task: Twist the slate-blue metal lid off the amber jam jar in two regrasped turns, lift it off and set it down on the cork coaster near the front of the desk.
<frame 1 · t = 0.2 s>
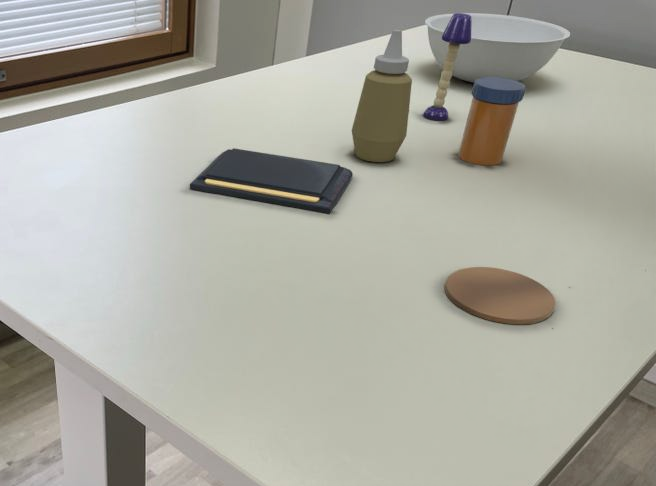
squeeze bottle: (374, 157, 111), on the table
toy lamp: (437, 118, 127), on the table
bowl: (482, 79, 149), on the table
jar: (479, 157, 111), on the table
lid: (499, 86, 105), point 11 cm above the table, screwed on, not yet turned
wallet: (272, 183, 102), on the table
coaster: (498, 296, 77), on the table
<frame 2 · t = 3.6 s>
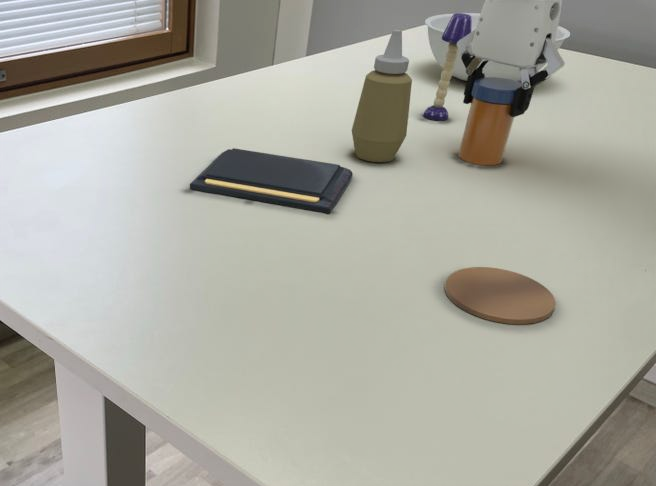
hand: (493, 107, 107), 8 cm above the table, tool pointing down, fingers closed on lid, 6 cm apart
lid: (499, 86, 105), point 11 cm above the table, screwed on, not yet turned, touching gripper
everything else where it was.
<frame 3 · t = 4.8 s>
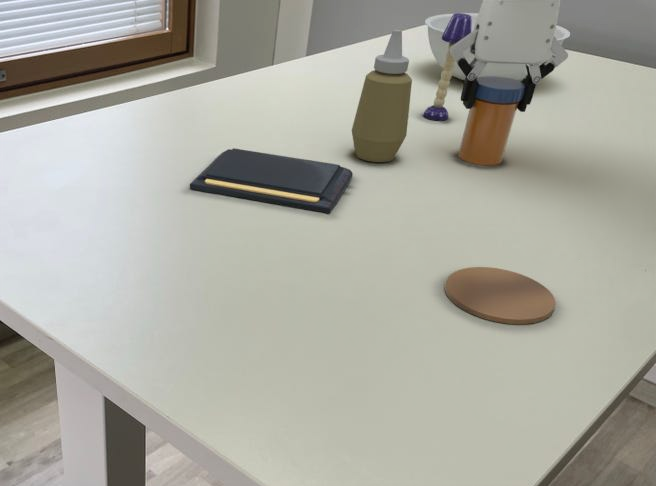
hand: (493, 106, 107), 8 cm above the table, tool pointing down, fingers closed on lid, 7 cm apart
lid: (499, 85, 105), point 11 cm above the table, turned 45° so far, risen 0.1 cm, still on its thread, touching gripper
everything else where it was.
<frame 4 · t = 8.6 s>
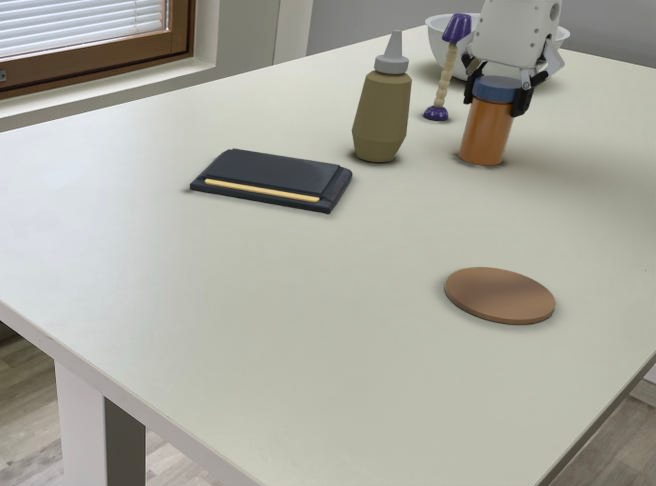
hand: (493, 108, 107), 8 cm above the table, tool pointing down, fingers closed on lid, 7 cm apart
lid: (499, 84, 105), point 11 cm above the table, turned 90° so far, risen 0.2 cm, still on its thread, touching gripper
everything else where it was.
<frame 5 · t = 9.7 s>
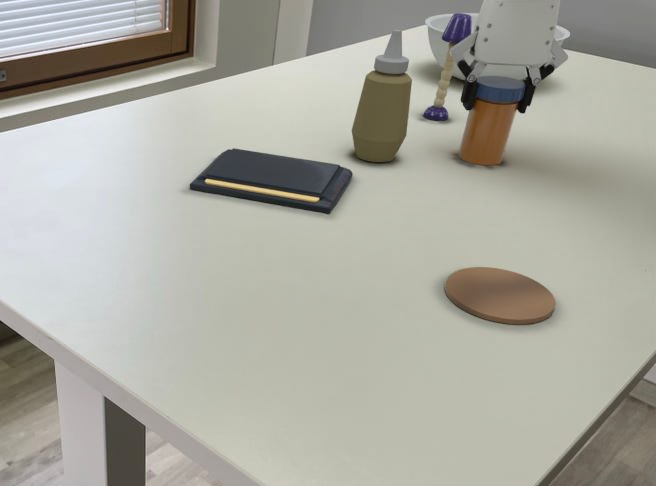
hand: (493, 108, 107), 8 cm above the table, tool pointing down, fingers closed on lid, 7 cm apart
lid: (499, 84, 105), point 11 cm above the table, off its thread, touching gripper
everything else where it was.
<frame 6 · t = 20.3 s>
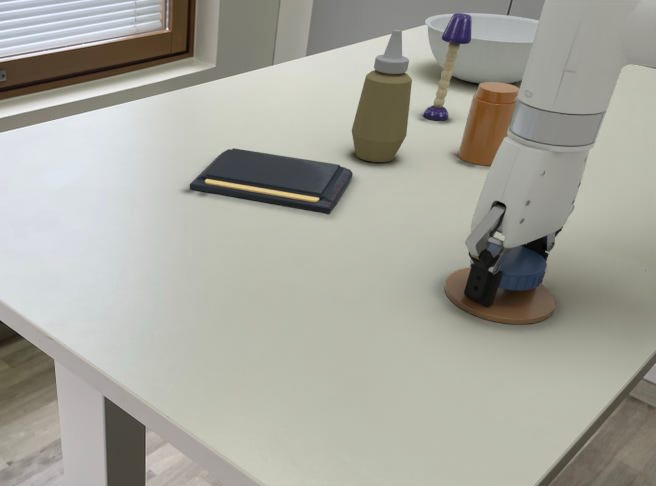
hand: (500, 289, 77), 1 cm above the table, tool pointing down, fingers closed on lid, 7 cm apart
lid: (509, 261, 75), point 4 cm above the table, off its thread, touching gripper
everything else where it was.
when the fingers open (2 cm above the table, at t = 31.5 s): lid drops 3 cm, resting on coaster.
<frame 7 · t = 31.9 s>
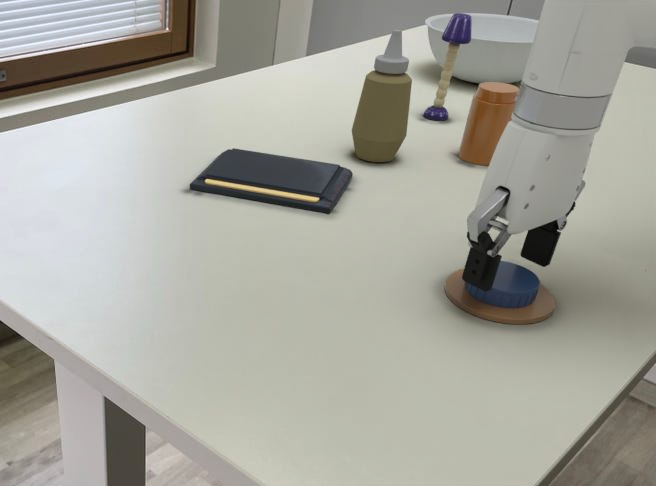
hand: (505, 273, 75), 3 cm above the table, tool pointing down, fingers open, 9 cm apart
lid: (503, 278, 76), point 2 cm above the table, off its thread, touching coaster
everything else where it was.
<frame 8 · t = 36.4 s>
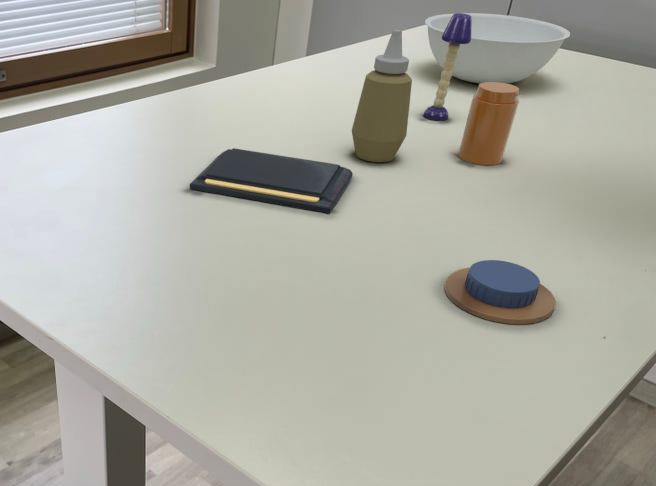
nothing on the table moved.
at the end: lid came off its thread; lid inside the target area on the coaster (0.1 cm from its centre), point 2.1 cm above the coaster's base; the gripper is holding nothing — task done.
